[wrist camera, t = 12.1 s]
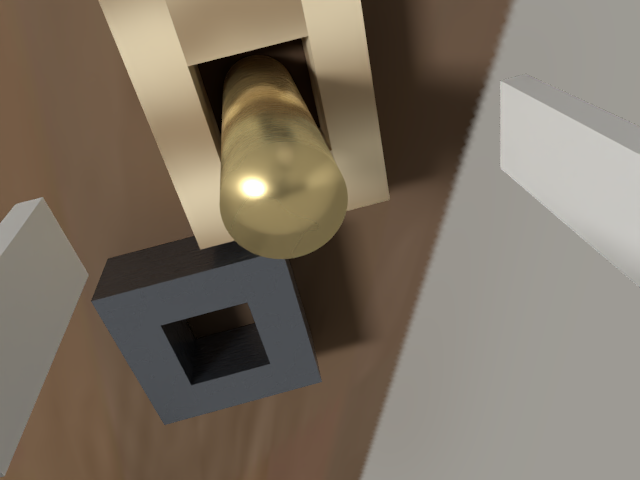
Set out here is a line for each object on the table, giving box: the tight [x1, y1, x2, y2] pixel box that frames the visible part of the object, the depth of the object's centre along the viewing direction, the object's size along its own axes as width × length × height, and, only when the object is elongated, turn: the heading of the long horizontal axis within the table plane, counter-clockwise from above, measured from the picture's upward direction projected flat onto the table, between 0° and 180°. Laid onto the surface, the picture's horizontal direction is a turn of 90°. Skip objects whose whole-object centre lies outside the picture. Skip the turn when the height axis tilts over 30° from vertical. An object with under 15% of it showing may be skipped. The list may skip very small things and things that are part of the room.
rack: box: [99, 0, 390, 250], centre depth 23 cm, size 12×10×4 cm
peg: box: [220, 55, 348, 259], centre depth 19 cm, size 4×4×13 cm
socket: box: [91, 236, 322, 425], centre depth 29 cm, size 10×10×4 cm
